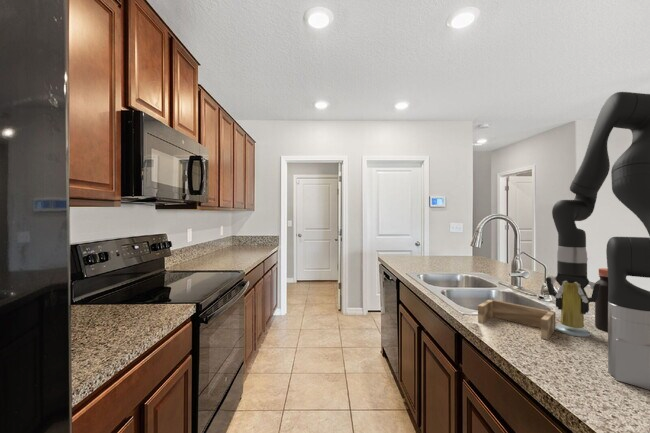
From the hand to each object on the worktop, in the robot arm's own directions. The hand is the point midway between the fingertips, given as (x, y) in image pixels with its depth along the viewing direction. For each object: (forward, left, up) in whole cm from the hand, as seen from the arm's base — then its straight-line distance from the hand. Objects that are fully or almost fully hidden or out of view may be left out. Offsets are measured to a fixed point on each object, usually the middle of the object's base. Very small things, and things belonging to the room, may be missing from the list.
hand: (572, 311), depth 96 cm
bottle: (+11, -8, -7) cm, 15 cm away
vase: (0, 0, -5) cm, 5 cm away
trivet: (0, 0, -7) cm, 7 cm away
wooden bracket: (-9, +14, -7) cm, 18 cm away
